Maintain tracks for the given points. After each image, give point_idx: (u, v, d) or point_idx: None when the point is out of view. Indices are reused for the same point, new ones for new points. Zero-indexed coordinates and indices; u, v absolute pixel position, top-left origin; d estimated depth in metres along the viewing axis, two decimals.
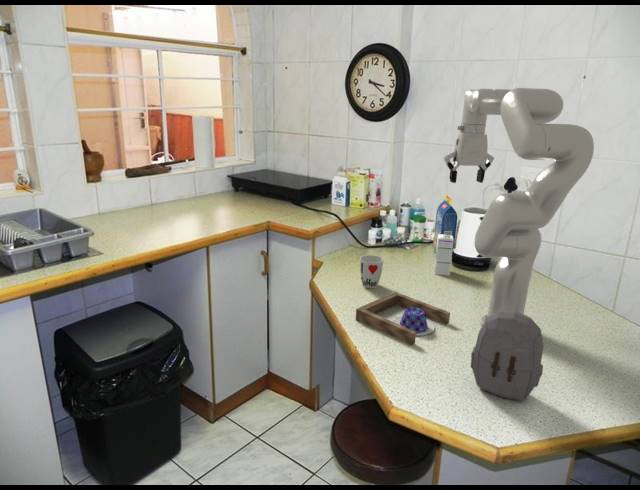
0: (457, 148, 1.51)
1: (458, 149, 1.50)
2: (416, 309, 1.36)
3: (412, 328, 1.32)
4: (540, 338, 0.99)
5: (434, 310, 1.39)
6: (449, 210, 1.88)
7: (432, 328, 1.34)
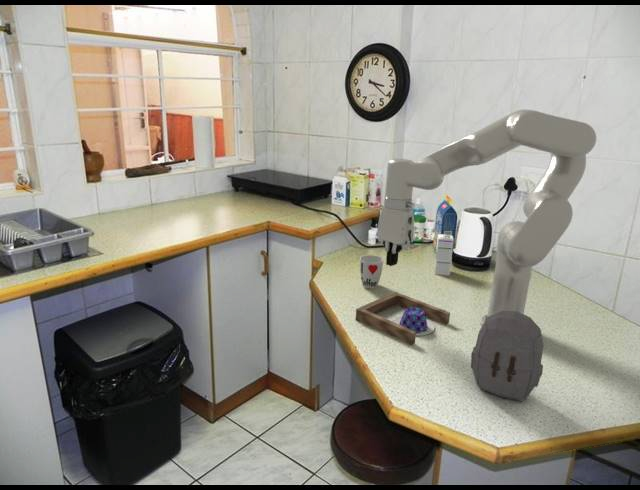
0: (411, 227, 1.30)
1: (412, 227, 1.30)
2: (415, 309, 1.36)
3: (413, 328, 1.32)
4: (540, 338, 0.99)
5: (434, 310, 1.39)
6: (449, 210, 1.88)
7: (432, 327, 1.35)
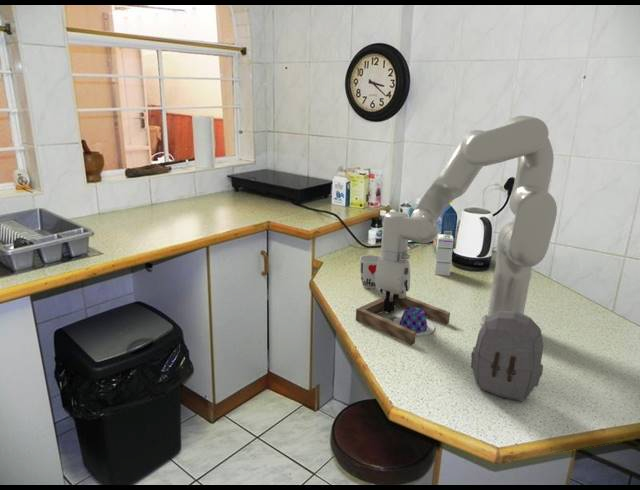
0: (407, 277, 1.34)
1: (408, 277, 1.35)
2: (415, 309, 1.36)
3: (413, 328, 1.32)
4: (540, 338, 0.99)
5: (434, 310, 1.39)
6: (449, 210, 1.88)
7: (432, 327, 1.35)
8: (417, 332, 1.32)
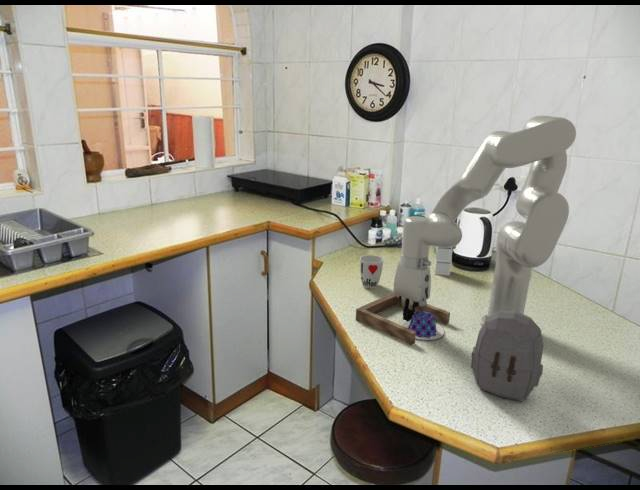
0: (428, 284, 1.30)
1: (429, 284, 1.30)
2: (424, 313, 1.33)
3: (423, 333, 1.29)
4: (540, 338, 0.99)
5: (434, 310, 1.39)
6: None
7: (441, 331, 1.32)
8: (427, 337, 1.29)
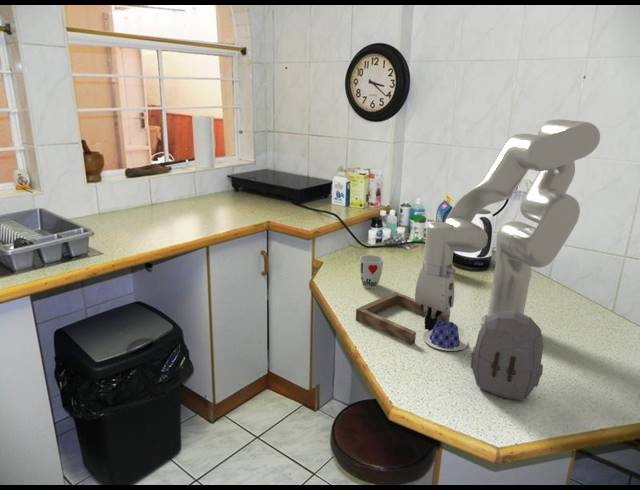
0: (452, 293, 1.25)
1: (453, 293, 1.25)
2: (446, 322, 1.28)
3: (446, 343, 1.24)
4: (540, 338, 0.99)
5: None
6: (449, 210, 1.88)
7: (465, 341, 1.27)
8: (450, 347, 1.24)
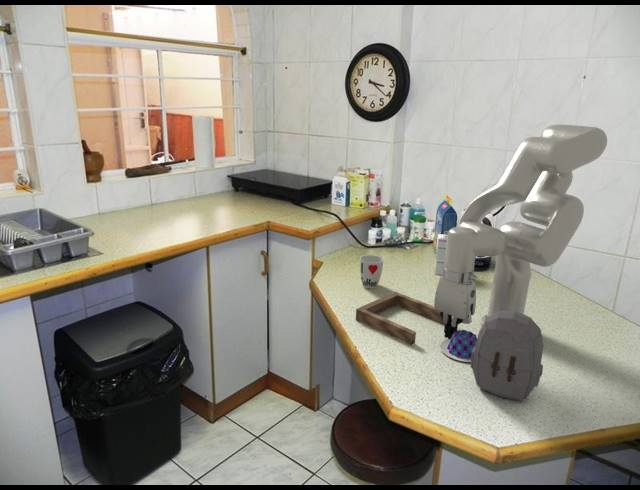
0: (473, 300, 1.21)
1: (474, 300, 1.21)
2: (465, 332, 1.23)
3: (465, 354, 1.19)
4: (540, 338, 0.99)
5: (434, 310, 1.39)
6: (449, 210, 1.88)
7: None
8: (469, 358, 1.19)
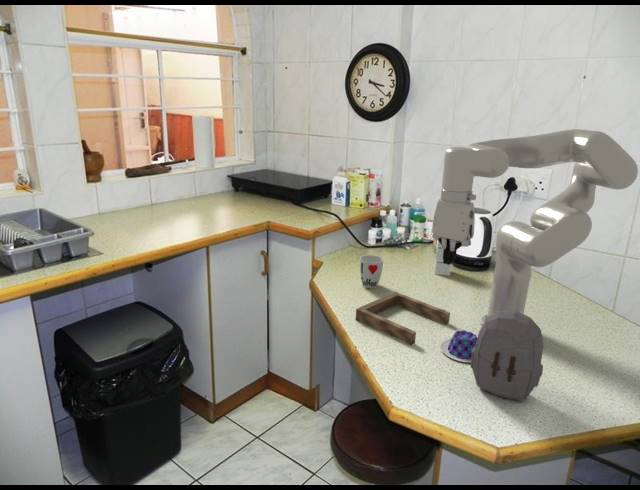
0: (472, 221, 1.19)
1: (473, 222, 1.19)
2: (465, 332, 1.23)
3: (465, 354, 1.19)
4: (540, 338, 0.99)
5: (434, 310, 1.39)
6: None
7: None
8: (469, 359, 1.19)
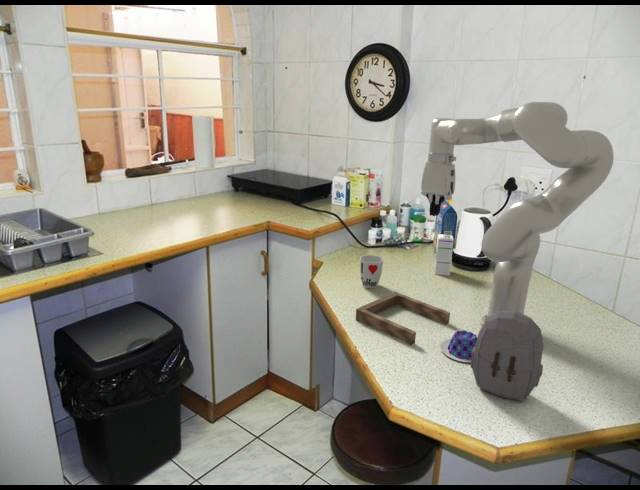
0: (453, 179, 1.45)
1: (454, 179, 1.46)
2: (465, 332, 1.23)
3: (464, 354, 1.19)
4: (540, 338, 0.99)
5: (434, 310, 1.39)
6: (449, 210, 1.88)
7: None
8: (468, 359, 1.19)
